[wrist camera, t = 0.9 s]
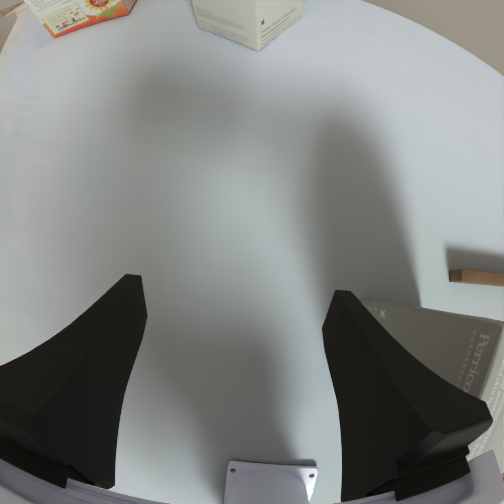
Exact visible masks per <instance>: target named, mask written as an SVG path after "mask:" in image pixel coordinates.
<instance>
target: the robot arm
mask: <svg viewBox="0 0 504 504" xmlns="http://www.w3.org/2000/svg"><path fill="white" fill-rule="evenodd" d="M146 320H147V310H146V304H145V298H144V291H143V284H142V277H141V276H140V275H131V274H126V275H125V276H123V277H122V278H121V279H120V280H119V281H118V282H117V283H116V284H115V285H114V286H112V287H111V288H110V289H109V290H108V291H107V292H106V293H105V294H104V295H103V296H102V297H101V298H100V299H99V300H97V301H96V302H95V303H94V304H93V305H92V306H91V307H90V308H89V309H87V310H86V311H85V312H84V313H83V314H82V315H80V316H79V317H78V318H77V319H76V320H75V321H73V322H72V323H71V324H70V325H68V326H67V327H66V328H64V329H63V330H62V331H60V332H59V333H58V334H56V335H55V336H53V337H52V338H50V339H49V340H47V341H46V342H44V343H43V344H41V345H39V346H38V347H36V348H34V349H33V350H31V351H30V352H28V353H26V354H24V355H22V356H20V357H18V358H16V359H14V360H12V361H10V362H8V363H6V364H4V365H1V366H0V504H168V503H162V502H156V501H150V500H145V499H140V498H136V497H131V496H127V495H123V494H119V493H115V492H111V491H108V490H104V489H110V488H112V487H113V486H114V485H115V461H116V448H117V437H118V429H119V422H120V415H121V410H122V404H123V399H124V394H125V390H126V386H127V383H128V380H129V377H130V374H131V371H132V368H133V365H134V362H135V359H136V356H137V353H138V350H139V347H140V345H141V342H142V338H143V334H144V330H145V325H146ZM322 332H323V342H324V349H325V354H326V358H327V362H328V366H329V370H330V374H331V378H332V382H333V387H334V391H335V395H336V399H337V404H338V411H339V420H340V430H341V445H342V487H341V503H335V504H501V503H502V502H503V501H504V481H503V478H502V475H501V472H500V469H499V465H498V462H497V459H496V457H495V454H494V451H493V450H490V451H488V452H486V453H484V454H481V455H479V456H477V457H475V458H473V459H471V460H470V461H468V462H467V459H466V456H467V455H469V453H470V451H469V448H468V445H470V444H471V443H472V442H473V441H475V440H476V439H477V438H479V437H480V436H481V435H482V434H483V433H485V432H486V431H487V430H488V429H489V428H490V427H491V425H492V423H493V421H494V420H493V418H492V416H491V413H490V411H489V408H488V406H487V404H486V402H485V401H483V400H481V399H479V398H477V397H475V396H472V395H470V394H468V393H466V392H464V391H463V390H461V389H459V388H457V387H456V386H454V385H452V384H451V383H449V382H447V381H446V380H444V379H443V378H441V377H440V376H438V375H437V374H436V373H434V372H433V371H432V370H430V369H429V368H427V367H426V366H425V365H424V364H422V363H421V362H420V361H419V360H417V359H416V358H415V357H414V356H413V355H412V354H410V353H409V352H408V351H407V350H406V349H405V348H404V347H403V346H402V345H401V344H400V343H399V342H398V341H397V340H396V339H395V338H393V337H392V336H391V335H390V333H389V332H388V331H387V330H386V329H385V328H384V327H383V326H382V325H381V324H380V323H379V322H378V321H377V320H376V319H375V317H374V316H373V315H372V314H371V313H370V312H369V311H368V310H367V309H366V307H365V306H364V305H363V304H362V303H361V302H360V301H359V300H358V299H357V297H356V296H355V295H354V294H353V293H352V292H351V291H343V290H335V293H334V296H333V299H332V301H331V304H330V307H329V310H328V313H327V316H326V319H325V321H324V324H323V327H322ZM231 469H235V471H233V470H231ZM310 474H314V475H312V476H309V475H310ZM317 475H318V468H317V467H316V466H293V465H274V464H261V463H251V462H242V461H230V462H229V463H228V468H227V477H226V486H225V495H224V504H310V503H309V502H310V499H311V496H312V492H313V489H314V485H315V482H316V478H317ZM88 484H89V485H88ZM91 485H92V486H91ZM94 486H97V487H100V488H97V487H94ZM101 488H103V489H101Z"/></svg>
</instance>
